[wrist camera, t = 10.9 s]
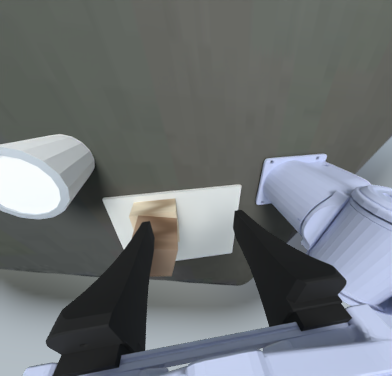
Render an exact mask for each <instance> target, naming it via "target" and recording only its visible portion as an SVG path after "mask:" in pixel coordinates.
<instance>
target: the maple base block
mask: <svg viewBox="0 0 392 376" xmlns="http://www.w3.org/2000/svg"><path fill="white" fill-rule="evenodd" d="M138 215H141V216H154V217H167V218H177V234H178V242H180V234H179V222H178V214H177V207H176V199H175V198H173V199H163V200H154V201H144V202H134V203H133V206H132V209H131V212H130V215H129V219H130V221H131V224H132V227H133V230H134V228H135V225H136V221H137V218H138Z"/></svg>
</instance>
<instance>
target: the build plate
mask: <svg viewBox="0 0 392 376" xmlns="http://www.w3.org/2000/svg"><path fill="white" fill-rule="evenodd" d="M240 192H241V185H240V184H239V185H228V186H218V187H208V188H198V189H188V190H178V191H167V192H157V193H147V194H137V195H127V196H117V197H106V198H103V199H102V200H103V203H104V205H105V207H106V210H107V212H108V214H109V217H110V219H111V221H112V223H113V226H114V228H115V230H116V233H117V235H118V237H119V240H120V242H121V244H122V246H123V249H125V247H126V246H127V245H128V243H129V242H130V240H131V239H132V235H133V232H134V230H133V227H132V224H131V221H130V219H129V215H130V212H131V209H132V206H133V203H134V202H144V201H154V200H163V199H173V198H175V199H176V207H177V214H178V222H179V234H180V242H178V252H177V256H176V260H175V261H178V260H185V259H193V258H200V257H207V256H214V255H221V254H228V253H232V249H233V242H234V234H235V233H234V230H233V222H234V213H235V211H237V210H238V206H239V199H240Z"/></svg>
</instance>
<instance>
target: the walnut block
mask: <svg viewBox="0 0 392 376" xmlns="http://www.w3.org/2000/svg"><path fill="white" fill-rule="evenodd" d="M147 221H150V223H151V226H152V230H153V234H154V237H155V242H154V254H153V260H152V265H151V271H150V276H172V273H173V269H174V264H175V260H176V256H177V252H178V234H177V218H167V217H154V216H141V215H138V218H137V221H136V225H135V228H134V232H133V235H132V237H133V236H134V234H135V233H136V231H137V230H138V228H139V226H140V225H141V223H142V222H147Z"/></svg>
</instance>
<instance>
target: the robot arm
mask: <svg viewBox="0 0 392 376" xmlns="http://www.w3.org/2000/svg"><path fill="white" fill-rule="evenodd" d="M316 157H317V158H316ZM326 158H327V155H326V154H314V155H302V156H290V157H278V158H267V159H265V161H264V164H263V169H262V173H261V178H260V183H259V188H258V193H257V197H256V204H257V205H261V204H270V203H272V204H273V205H274V206H275V207H276V209H277V210H278V211H279V212H280V213H281V214H282V215H283V216H284V217H285V218H286V219H287V221H288V222H289V223H290V224H291V225H292V226H293V227H294V228H295V229H296V230H297V231H298V233H299V234H300V235H301V236H302V241H301V244H302V245H303V246H304V247H305V249H306V250H307V252H306V254H305V253H303V252H301V251H299V250H297V249H295V248H293V247H291V246H290V245H288V244H286V243H284V242H283V241H281V240H280V239H278V238H276V237H275V236H273V235H272V234H271V233H269V232H268V231H266V230H265V229H264V228H262V227H261V226H260V225H259V224H257V223H256V222H255V221H254V220H253V219H251V218H250V217H249V216H248V215H247V214H246V213H245V212H243V211H242V210H237V211H235V213H234V222H233V230H234V233H235V236H236V239H237V241H238V243H239V245H240V247H241V249H242V251H243V254H244V256H245V258H246V260H247V262H248V264H249V266H250V269H251V272H252V274H253V277H254V280H255V282H256V286H257V288H258V291H259V294H260V298H261V301H262V304H263V307H264V310H265V314H266V317H267V320H268V324H269V327H267V328H261V329H256V330H251V331H246V332H241V333H235V334H230V335H225V336H220V337H214V338H210V339H204V340H199V341H194V342H188V343H183V344H178V345H173V346H168V347H162V348H157V349H152V350H147V351H145V339H146V315H147V314H146V313H147V298H148V297H147V296H148V285H149V277H150V271H151V265H152V260H153V254H154V242H155V237H154V234H153V230H152V226H151V223H150V221H147V222H142V223H141V225H140V226H139V228H138V230H137V231H136V233H135V234H134V236H133V237H132V239H131V240H130V242H129V243H128V245H127V246H126V247H125V249H124V250H123V251H122V253H121V254H120V255H119V257H118V258H117V259H116V260H115V261H114V263H113V264H112V265H111V266H110V267H109V268H108V269H107V270H106V271H105V272H104V273H103V274H102V275H101V276H100V277H99V278H98V280H96V281H95V282H94V283H93V284H92V285H91V286H90V287H89V288H88V289H87V290H86V291H85V292H83V293H82V294H81V295H80V296H79V297H77V298H76V299H75V300H74V301H72V302H71V303H70V304H69V305H68V306H66V307H65V308H64V309H63V310H62V311H61V313H60V315H59V317H58V318H57V320H56V322H55V324H54V326H53V328H52V330H51V332H50V334H49V336H48V338H47V340H46V344H47V346H48V347H49V348H51V349H53V350H54V351H56V352H58V353H60V354H61V358H60V360H59V362H58V363H47V364H41V365H36V366H31V367H28V368H27V369H26V370H25V372H24V374H23V375H22V376H391V375H392V188H389V187H385V186H379V185H372V184H371V183H369V182H368V181H367V180H366V179H364V178H362V177H360V176H357V175H355V174H353V173H350V172H348V171H346V170H344V169H341V168H339V167H337V166H334V165H332V164H330V163H328V162H325V160H326ZM271 161H272V162H271ZM270 162H271V163H270ZM261 201H262V202H261ZM342 301H343V302H345V303H347V304H349V305H351V306H350V307H347V308H344V307H343V306H342V304H341V303H342ZM260 348H263V351H261V350H258V349H260ZM191 362H192V363H191ZM186 363H190V364H189V365H188V366H186V367H182V368H179V369H176V370H172V371H169V372H168V369H167V367H171V366H176V365H181V364H186Z"/></svg>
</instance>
